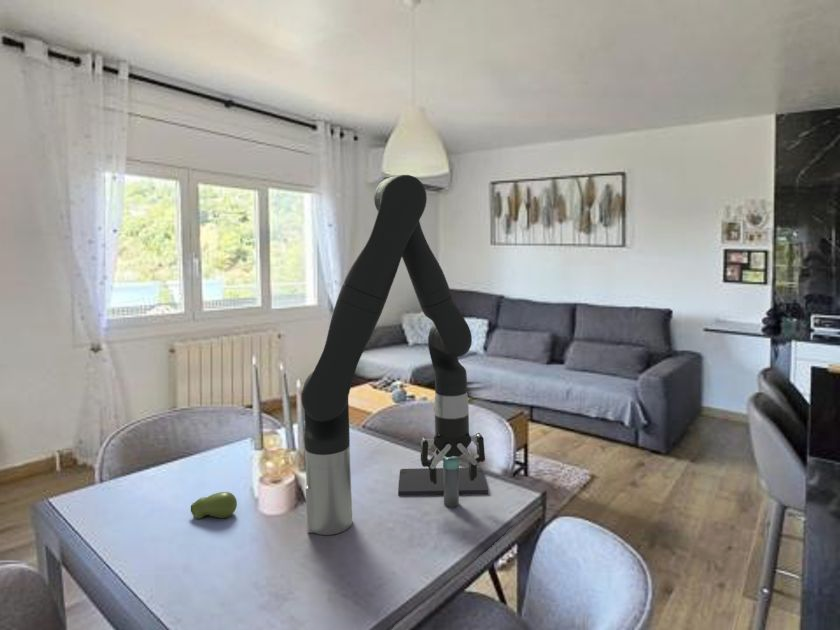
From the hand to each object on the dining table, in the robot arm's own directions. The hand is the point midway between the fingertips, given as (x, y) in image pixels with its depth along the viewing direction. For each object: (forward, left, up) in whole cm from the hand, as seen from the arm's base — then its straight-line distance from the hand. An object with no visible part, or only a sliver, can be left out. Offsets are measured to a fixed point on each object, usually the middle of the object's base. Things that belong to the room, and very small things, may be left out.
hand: (453, 480), depth 118 cm
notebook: (-1, +11, -6) cm, 13 cm away
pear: (-53, +4, -6) cm, 53 cm away
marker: (0, 0, -6) cm, 6 cm away
